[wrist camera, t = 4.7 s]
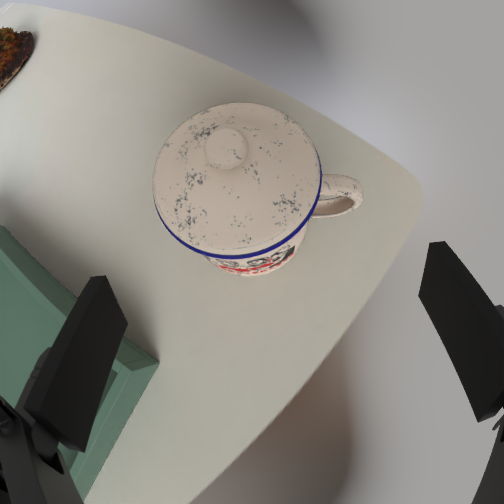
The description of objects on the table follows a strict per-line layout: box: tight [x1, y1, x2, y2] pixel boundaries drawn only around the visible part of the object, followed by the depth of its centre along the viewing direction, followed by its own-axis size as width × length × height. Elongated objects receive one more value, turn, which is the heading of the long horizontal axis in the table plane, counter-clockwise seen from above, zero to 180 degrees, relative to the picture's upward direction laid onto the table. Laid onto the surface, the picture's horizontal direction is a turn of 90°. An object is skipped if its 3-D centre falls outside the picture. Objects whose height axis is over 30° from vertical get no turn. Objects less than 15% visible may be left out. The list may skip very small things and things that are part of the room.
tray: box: [0, 226, 160, 502], centre depth 22 cm, size 24×24×5 cm
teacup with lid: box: [153, 102, 363, 276], centre depth 19 cm, size 12×9×12 cm
